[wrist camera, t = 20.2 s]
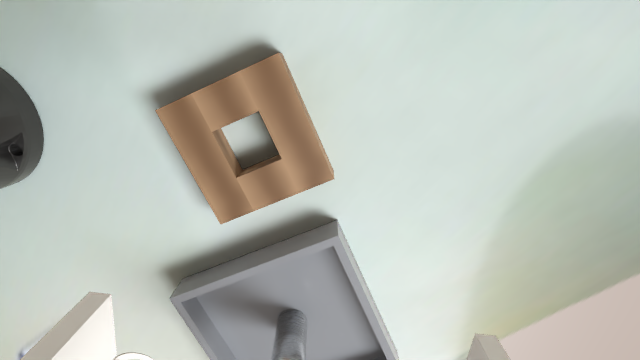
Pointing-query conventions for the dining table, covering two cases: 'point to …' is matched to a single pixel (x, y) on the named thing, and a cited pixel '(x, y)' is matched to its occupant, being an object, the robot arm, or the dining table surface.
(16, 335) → the dining table surface
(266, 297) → the tray
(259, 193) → the socket block
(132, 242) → the dining table surface
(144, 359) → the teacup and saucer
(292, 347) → the lock pin
